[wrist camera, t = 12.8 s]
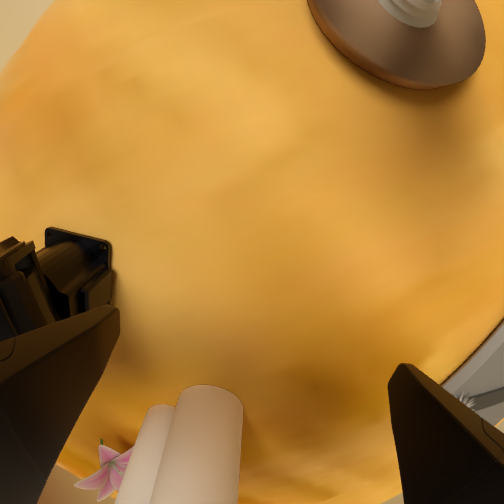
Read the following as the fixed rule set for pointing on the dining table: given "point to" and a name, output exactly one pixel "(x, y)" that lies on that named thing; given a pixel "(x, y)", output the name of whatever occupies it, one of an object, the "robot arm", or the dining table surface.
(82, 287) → the robot arm
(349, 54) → the walnut pedestal
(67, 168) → the dining table surface
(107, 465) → the lily
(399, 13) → the chalice
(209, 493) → the vase
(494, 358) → the decorative plate
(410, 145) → the dining table surface
